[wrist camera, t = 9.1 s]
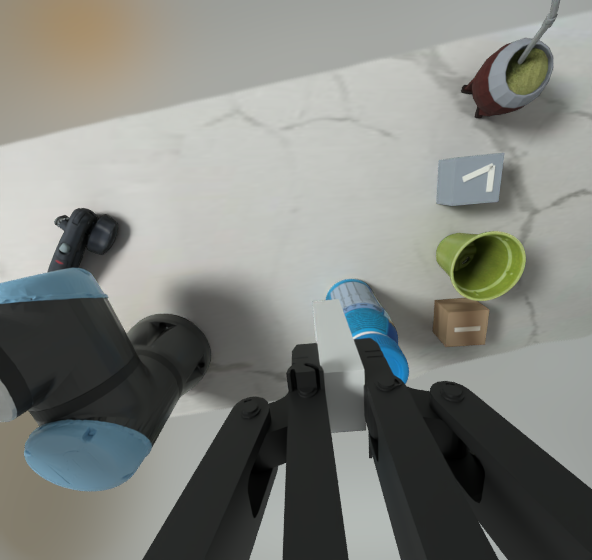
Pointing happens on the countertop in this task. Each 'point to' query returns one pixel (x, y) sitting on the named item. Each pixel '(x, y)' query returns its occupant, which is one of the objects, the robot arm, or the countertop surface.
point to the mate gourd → (513, 73)
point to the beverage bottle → (370, 321)
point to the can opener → (82, 237)
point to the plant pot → (482, 263)
